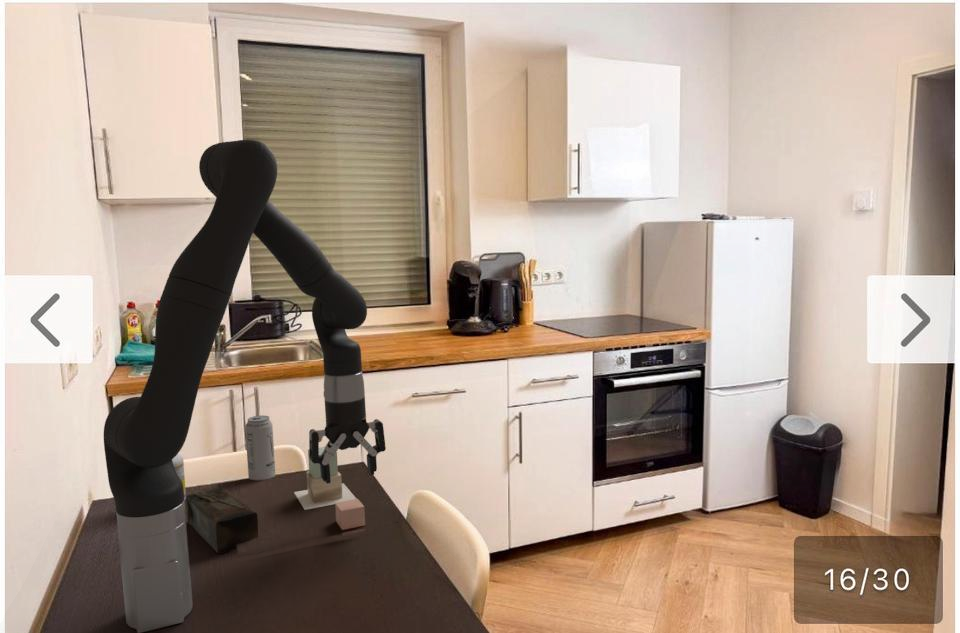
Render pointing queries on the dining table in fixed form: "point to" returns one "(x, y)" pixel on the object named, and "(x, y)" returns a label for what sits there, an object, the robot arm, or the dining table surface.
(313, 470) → the sage block
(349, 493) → the pad
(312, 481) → the maple block
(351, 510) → the coral block
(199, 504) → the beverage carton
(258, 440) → the energy drink can
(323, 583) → the dining table surface
